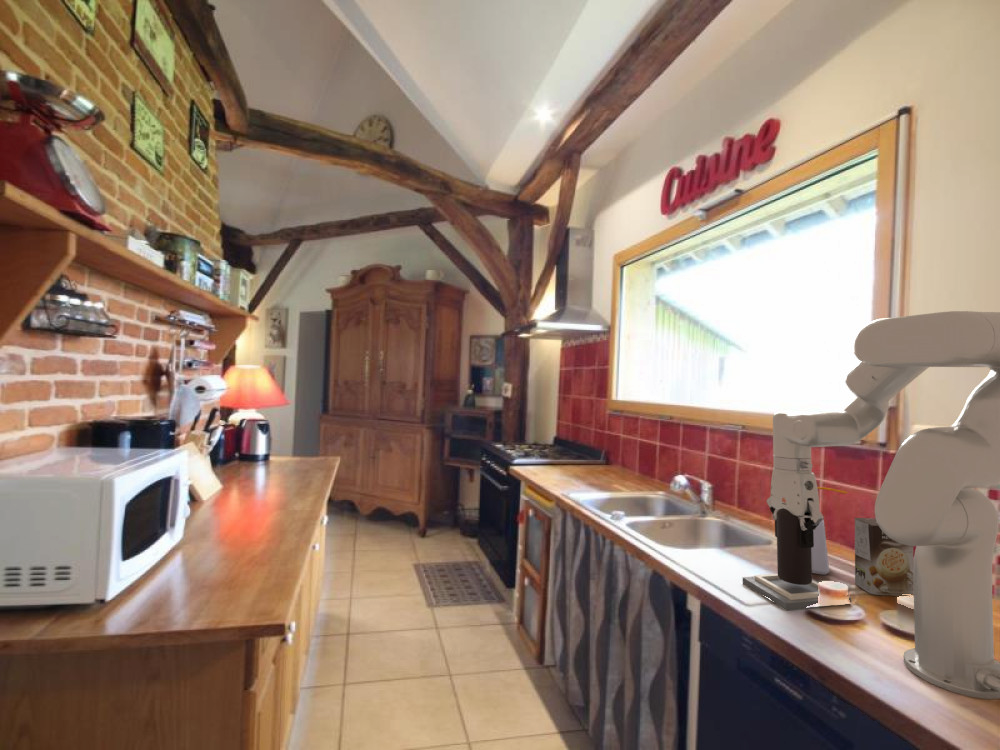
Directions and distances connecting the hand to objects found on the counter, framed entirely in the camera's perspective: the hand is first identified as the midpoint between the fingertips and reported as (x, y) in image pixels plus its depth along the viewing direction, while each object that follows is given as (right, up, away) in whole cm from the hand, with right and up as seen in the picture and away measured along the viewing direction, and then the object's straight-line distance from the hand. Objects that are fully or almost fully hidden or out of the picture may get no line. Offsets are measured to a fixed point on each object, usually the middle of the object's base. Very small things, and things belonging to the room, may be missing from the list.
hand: (793, 541), depth 110 cm
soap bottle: (+15, -12, +14) cm, 24 cm away
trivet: (0, -12, 0) cm, 12 cm away
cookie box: (+22, -12, +1) cm, 25 cm away
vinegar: (0, -9, 0) cm, 9 cm away
